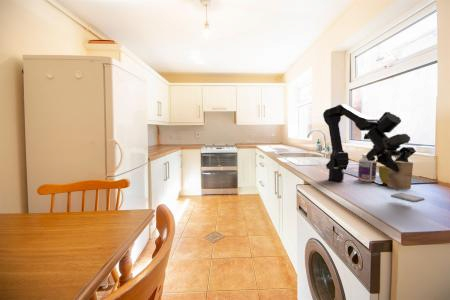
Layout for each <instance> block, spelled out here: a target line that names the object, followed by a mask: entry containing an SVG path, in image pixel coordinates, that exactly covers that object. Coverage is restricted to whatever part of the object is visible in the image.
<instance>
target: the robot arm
mask: <svg viewBox="0 0 450 300" xmlns="http://www.w3.org/2000/svg"><path fill="white" fill-rule="evenodd" d="M343 116H345V117H346V118H348V119H349V121H350V120H351V121H352V122H353V123H354V126H355V127H356V128H357V129H358V130H360V131H364V132H365V133H364V136H363V139H364V140H370V141H371V142H372V144H373V145H372V148H371V149H370V150H369V151H368V152H367V153H365V154H366V158H367V159H368V161H374V160H376V162H377V163H379V164H381V166H386V167H388V168H390V169H392V170H394V171H395V172H398V171H399V169H398V167H397V165H396V164H395V162H394V161H404V162H409V158H410V157H411V156H412V155H413V154H415V153H416V152H417V150H416V149H415V148H414V147H412V146H402V147H401V145H403V144H408V143H409V142H410V141H411V136H409V134H407V133H401V134H399V133H398V134H395V135H393V136H390V137H388V136H387V134H389V133H392V131H394V129H395V128H396V127H398V125H399V124H401V123H402V119H401V118H400V116H397V115H395V114H394V113H391V111H385V112H384V113H383V114H382V116H380V117H379V119H377V118H376V117H372V116H369V115H365V114H362V113H360V112H359V111H357V110H355V109H354V108H352V107H351V106H349V105H348V104H341V103H340V104H338V105H336V106H334V107H330V108H328V109H325V110H324V111H323V114H322V117H323V121H324V122H325V124H326V125H327V126H328V131H329V132H328V133H329V138H330V145H331V151H332V152H331V154H330V156H329V161H328V162H327V163H326V164H325V168H326V170H328V178H327V181H330V182H331V181H332V182H337V183H338V182H339V183H342V181H344V179H345V172H344V170H345V171H346V170H347V167H348V165H349V163H350V162H349V161H350V158H349V153H348V152H345V150H344V149H343V144H342V137H341V130H340V125H339V123H340V122H341V120H342V118H341V117H343ZM386 133H387V134H386ZM376 158H377V159H376ZM393 158H395V159H393Z"/></svg>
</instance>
